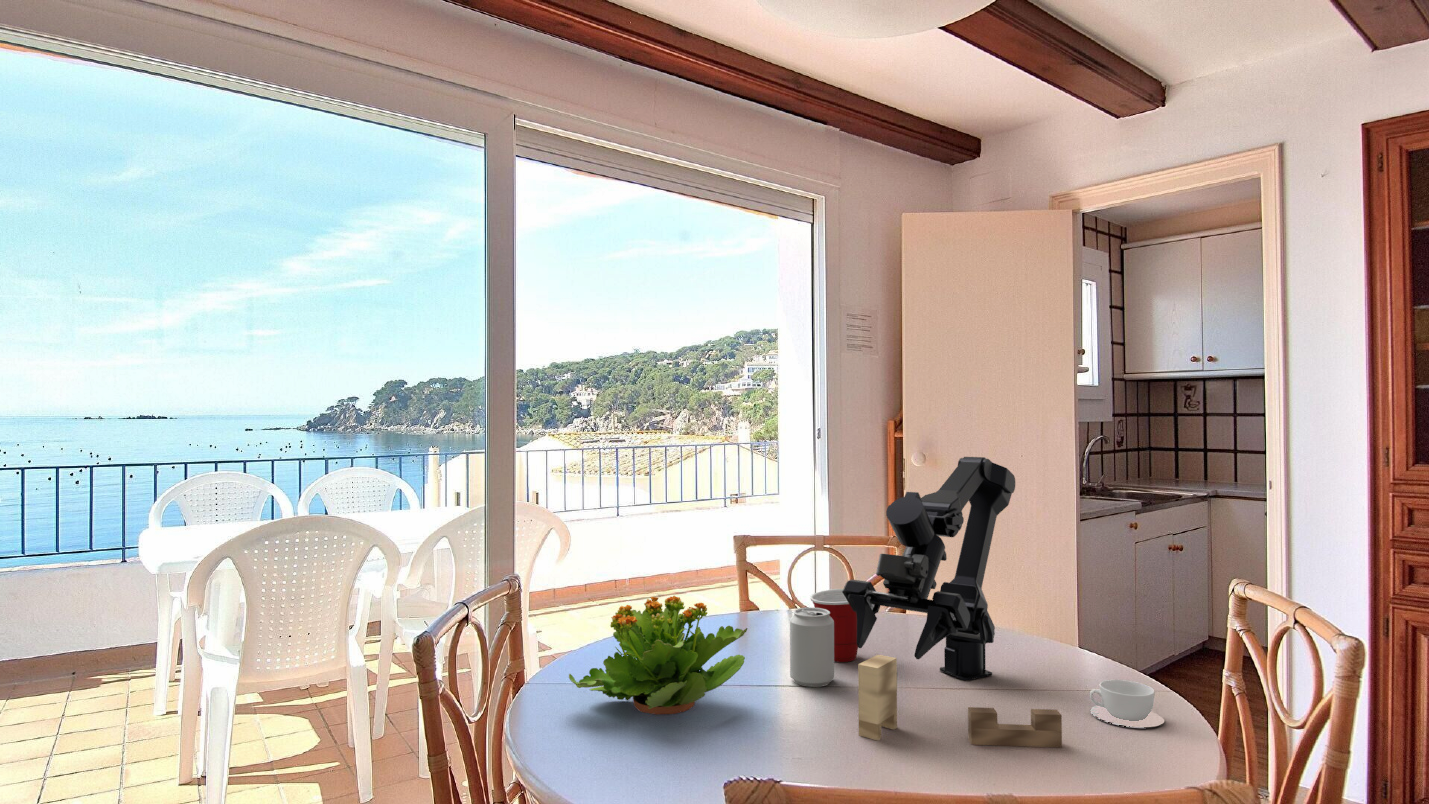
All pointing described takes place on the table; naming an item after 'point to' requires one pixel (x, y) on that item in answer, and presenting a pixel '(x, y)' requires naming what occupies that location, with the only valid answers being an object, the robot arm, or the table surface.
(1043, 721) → the lower notched wooden block
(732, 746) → the table surface
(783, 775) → the table surface
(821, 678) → the can
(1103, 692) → the teacup
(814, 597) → the plastic cup
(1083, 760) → the table surface
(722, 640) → the potted flower
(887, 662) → the tall wooden block
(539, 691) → the table surface
